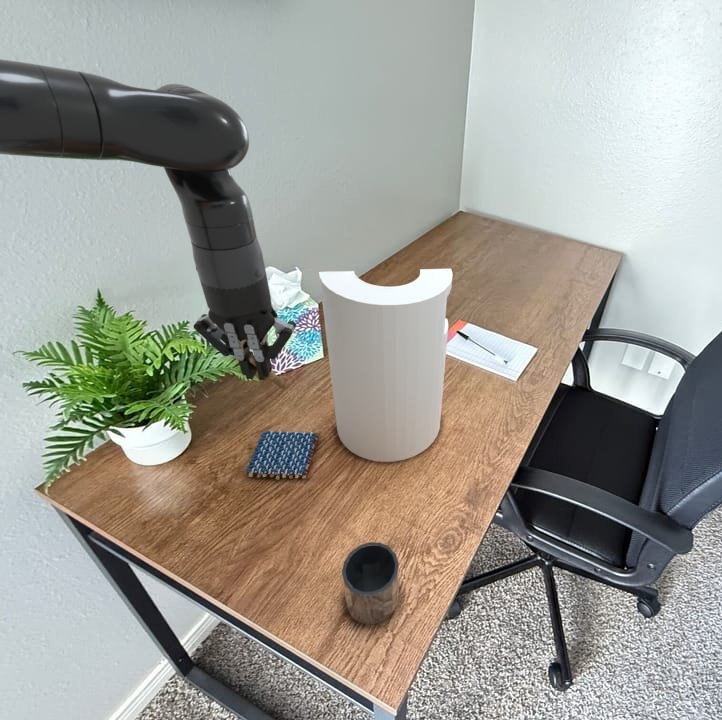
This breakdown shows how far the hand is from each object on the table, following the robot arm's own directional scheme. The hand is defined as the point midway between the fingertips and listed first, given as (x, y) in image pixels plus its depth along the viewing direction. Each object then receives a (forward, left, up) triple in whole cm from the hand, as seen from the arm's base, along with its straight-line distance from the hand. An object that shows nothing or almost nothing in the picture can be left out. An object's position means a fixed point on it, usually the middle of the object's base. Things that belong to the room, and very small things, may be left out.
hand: (258, 375), depth 69 cm
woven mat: (+4, +1, -24) cm, 24 cm away
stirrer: (+3, 0, -2) cm, 4 cm away
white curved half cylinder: (+10, -18, -24) cm, 32 cm away
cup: (-21, -19, -24) cm, 37 cm away
